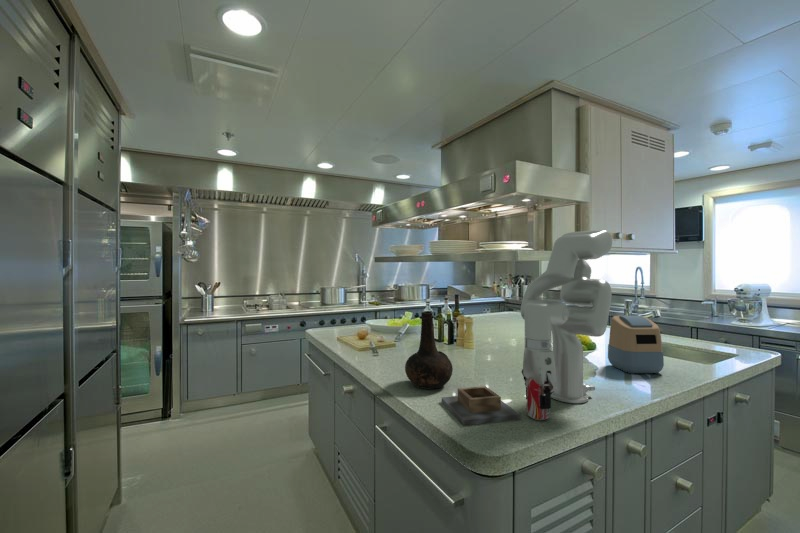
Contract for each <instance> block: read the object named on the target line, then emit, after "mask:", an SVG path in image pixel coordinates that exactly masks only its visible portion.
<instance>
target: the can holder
mask: <svg viewBox="0 0 800 533" xmlns="http://www.w3.org/2000/svg"><path fill="white" fill-rule="evenodd" d="M441 403H442V404H443V405H444V407H445V408H446V409H447V410H448V411H449V412H450V413H451V415H453V417H455V418H456V419H457V421H458V422H459V423H460V424H461V425H462V426H472V425H473V426H474V425H482V424H488V423H489V424H490V423H499V422H508V421H509V422H510V421H516V420H517V421H518V420H521V413H519V412H518V411H516V410H515V409H514V408H512V407H511V406H509V405H508V404H507V403H505V402H504V401H503V400H502V399H501V396H500V394H497V393H496V392H494V391H493V390H492V389H490V388H489V387H488V386H484V385H483V386H473V387H464V388H463V387H461V388H457V395H453V396H443V397H441Z"/></svg>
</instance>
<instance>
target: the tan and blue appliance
mask: <svg viewBox="0 0 800 533" xmlns="http://www.w3.org/2000/svg"><path fill="white" fill-rule="evenodd" d="M607 359H608V362H609V363H610V365H611V366H612V367H615V368H616V369H618V370H620V369H621V371H622V370H623V372H625V373H627V372H628V373H627V374H631V373H636V374H653V373H656V374H658V373H660V372H661V371H663V369H664V366H665V364H664V363H665V362H664V361H665V360H664V351H663V344H662V335H661V330H660V326H659V325H658V324H656V323H655V322H653V320H651V319H650V318H647V317H646V316H643V315H642V316H641V315H614V316H612V318H611V322H610V328H609V337H608V346H607Z"/></svg>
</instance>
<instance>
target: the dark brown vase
mask: <svg viewBox="0 0 800 533" xmlns="http://www.w3.org/2000/svg"><path fill="white" fill-rule="evenodd" d="M419 319H421V323H420V340H419V347H418V350H417V352H415V353H413V354H412V355H410V356H409V357H408V359H407V360H406V362H405V366H404V371H405V374H406V377H407V379H408V380H409V381H410V382H411V383H412V384H413V385H415V386H416V387H418V388H421V389H427V390H428V389H429V390H430V389H431V390H432V389H433V390H434V389H438V388H441V387H443V386H445V385H446V384H447V383H448V382H449V381H450V380H451V377H452V375H453V370H454V369H453V364H452V361H451V360H450V358H449V357H448V355H447V354H446V353H444V352H443V351H440V350H438V349H437V345H436V340H435V333H434V319H435V316H434V313H433V311H422V312H421V315H420V316H419Z"/></svg>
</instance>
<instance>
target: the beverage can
mask: <svg viewBox="0 0 800 533" xmlns="http://www.w3.org/2000/svg"><path fill="white" fill-rule="evenodd" d="M544 384H547V383H546V382H544ZM546 389H547V386H544V390H546ZM540 395H542V394H541V390H540V385H539V384H537V383H536V382H535V381H534V379H533V378H530V377H529V379H528V380H527V400H526V414H527V416H529V417H530V418H531V419H532V420H536V421H545V420H547V419H549V418H550V409H541V408H540Z"/></svg>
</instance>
